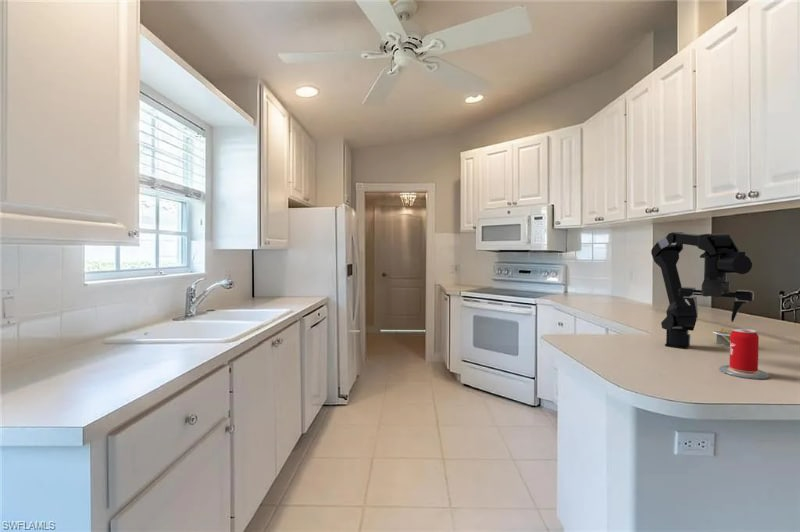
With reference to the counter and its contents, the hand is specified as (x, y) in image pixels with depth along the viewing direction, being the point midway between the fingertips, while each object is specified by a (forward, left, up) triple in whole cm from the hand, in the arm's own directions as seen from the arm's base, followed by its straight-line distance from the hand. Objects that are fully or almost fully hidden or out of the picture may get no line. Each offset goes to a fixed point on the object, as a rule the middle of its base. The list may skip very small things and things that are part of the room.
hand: (713, 319), depth 127 cm
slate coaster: (+8, -11, -13) cm, 19 cm away
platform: (+2, +25, -14) cm, 29 cm away
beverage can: (+8, -11, -12) cm, 19 cm away
